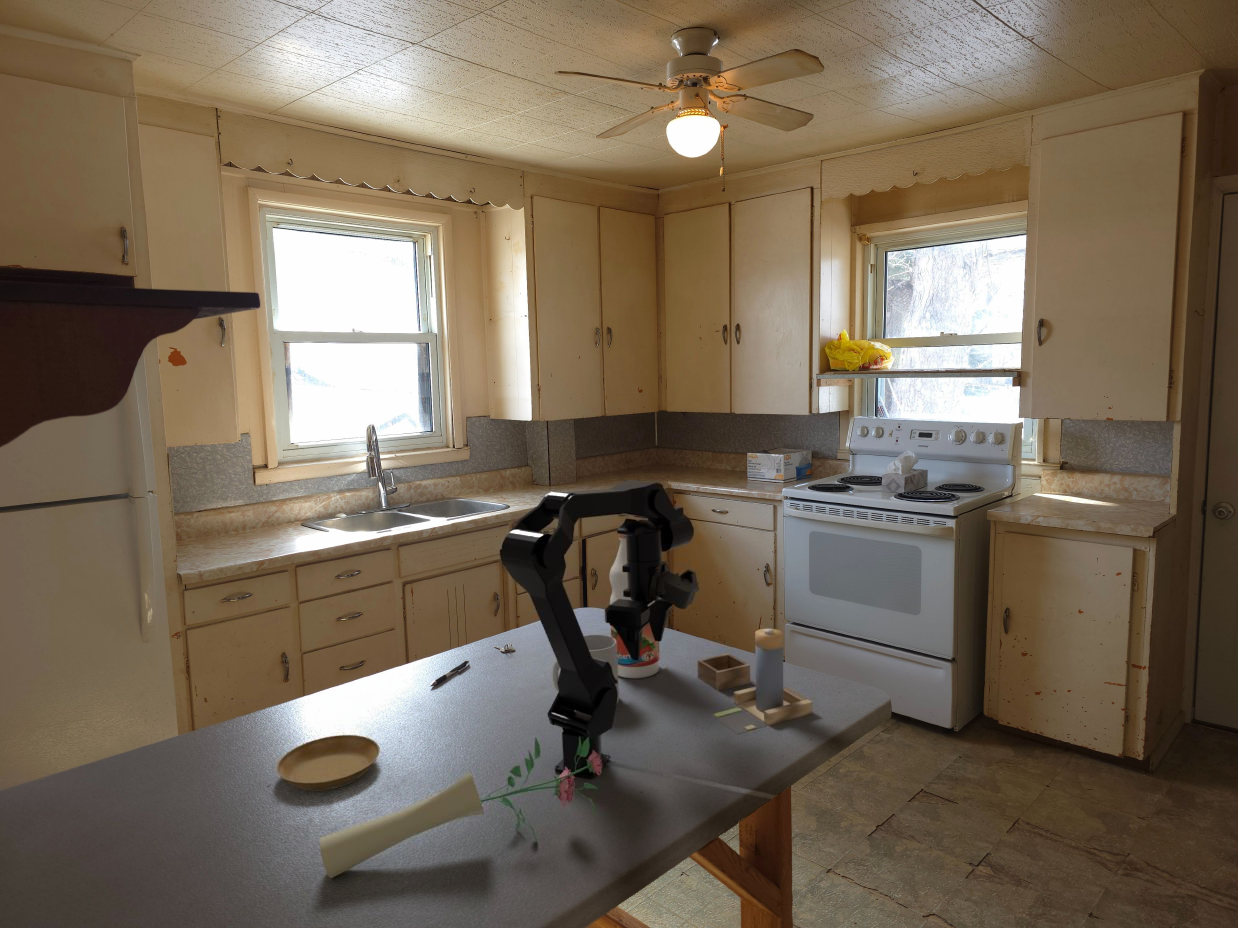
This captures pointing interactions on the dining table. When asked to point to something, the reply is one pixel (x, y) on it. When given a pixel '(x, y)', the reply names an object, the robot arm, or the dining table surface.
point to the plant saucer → (328, 762)
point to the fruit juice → (649, 646)
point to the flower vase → (438, 814)
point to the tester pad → (738, 720)
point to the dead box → (723, 671)
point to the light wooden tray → (790, 710)
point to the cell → (769, 669)
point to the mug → (597, 655)
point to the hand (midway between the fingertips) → (647, 650)
